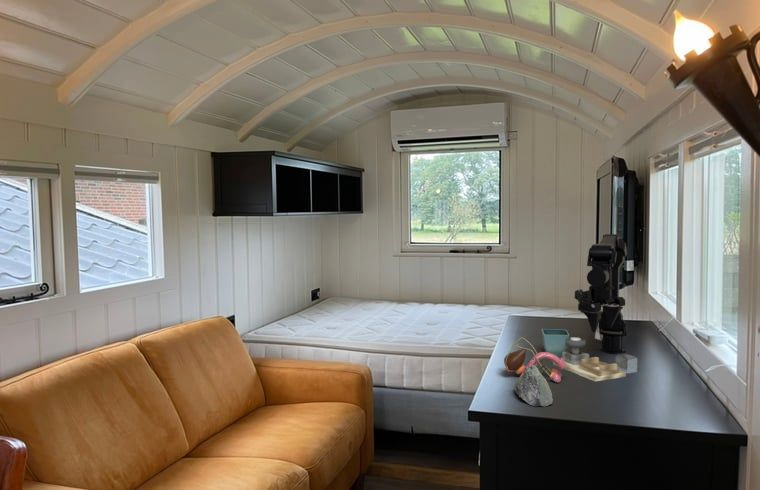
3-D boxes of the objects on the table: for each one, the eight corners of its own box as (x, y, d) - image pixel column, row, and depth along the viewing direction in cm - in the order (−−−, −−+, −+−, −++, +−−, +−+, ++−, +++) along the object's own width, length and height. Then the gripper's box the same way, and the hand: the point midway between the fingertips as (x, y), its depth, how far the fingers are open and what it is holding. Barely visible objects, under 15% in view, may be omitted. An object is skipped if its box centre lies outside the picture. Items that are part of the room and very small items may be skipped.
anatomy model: (572, 375, 158) (533, 331, 161) (533, 405, 163) (495, 362, 166) (573, 365, 168) (536, 324, 172) (536, 393, 173) (501, 352, 176)
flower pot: (569, 360, 187) (569, 334, 186) (543, 359, 188) (543, 334, 188) (566, 353, 195) (566, 329, 195) (541, 352, 197) (541, 328, 196)
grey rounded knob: (576, 350, 184) (576, 335, 184) (589, 355, 178) (589, 339, 178) (561, 352, 182) (561, 337, 181) (574, 357, 176) (574, 341, 175)
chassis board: (581, 360, 186) (581, 348, 186) (625, 376, 167) (626, 363, 167) (553, 364, 182) (553, 352, 182) (594, 381, 163) (594, 368, 163)
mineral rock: (515, 390, 158) (514, 356, 157) (553, 393, 154) (553, 358, 153) (511, 405, 145) (511, 369, 145) (552, 409, 142) (552, 372, 141)
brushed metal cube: (625, 367, 176) (625, 353, 176) (637, 372, 172) (637, 357, 171) (615, 369, 175) (615, 354, 175) (627, 373, 170) (627, 358, 170)
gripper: (595, 277, 187) (595, 321, 189) (563, 283, 177) (563, 330, 178) (626, 280, 178) (626, 326, 180) (594, 286, 168) (594, 335, 169)
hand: (601, 329), depth 177 cm, fingers open, 9 cm apart
